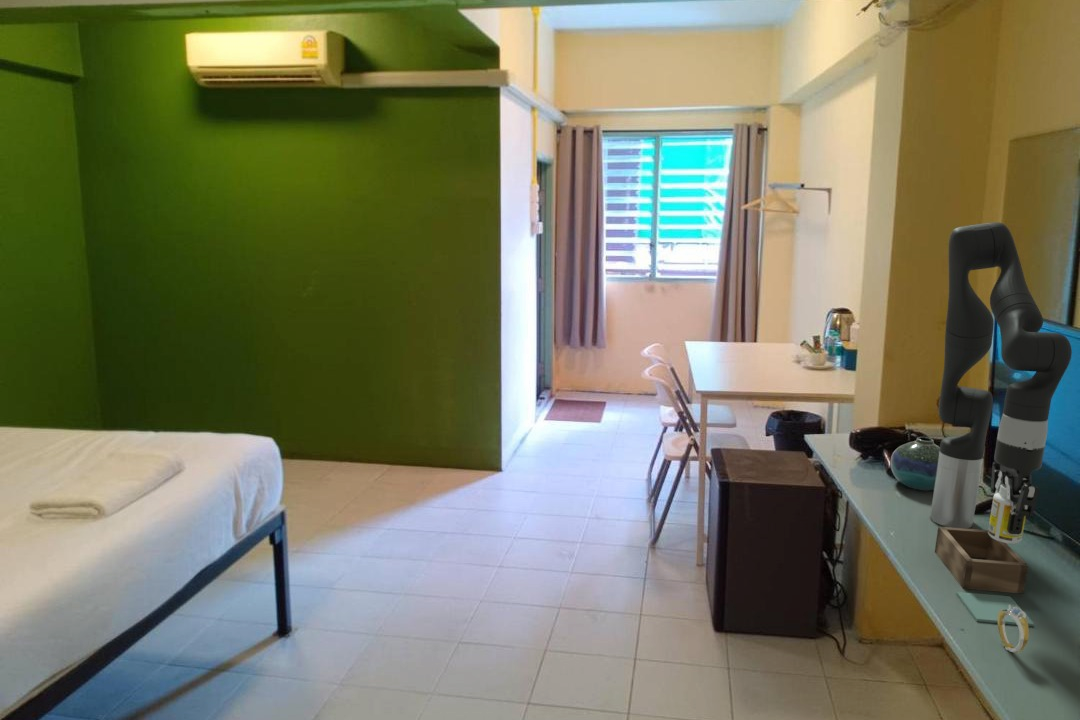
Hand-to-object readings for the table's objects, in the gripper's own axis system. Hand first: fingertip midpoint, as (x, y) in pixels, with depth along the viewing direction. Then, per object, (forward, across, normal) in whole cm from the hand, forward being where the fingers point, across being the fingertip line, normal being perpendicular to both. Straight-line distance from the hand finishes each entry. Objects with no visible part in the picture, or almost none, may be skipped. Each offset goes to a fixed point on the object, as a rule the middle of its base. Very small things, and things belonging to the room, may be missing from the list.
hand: (1006, 525), depth 148 cm
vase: (+17, -66, +7) cm, 68 cm away
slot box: (+17, -16, +3) cm, 24 cm away
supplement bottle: (+3, 0, 0) cm, 3 cm away
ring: (+17, +14, -3) cm, 23 cm away
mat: (+17, 0, 0) cm, 17 cm away
